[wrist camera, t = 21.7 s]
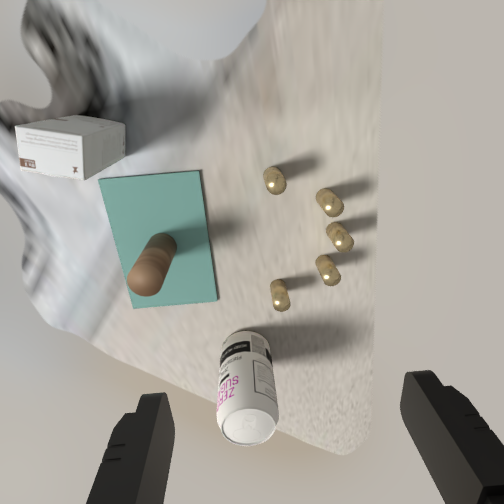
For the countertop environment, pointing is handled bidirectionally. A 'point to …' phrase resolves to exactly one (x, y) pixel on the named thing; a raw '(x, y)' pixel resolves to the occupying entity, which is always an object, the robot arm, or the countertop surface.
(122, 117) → the countertop surface
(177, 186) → the teal mat
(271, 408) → the supplement can
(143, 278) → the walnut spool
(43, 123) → the skincare box
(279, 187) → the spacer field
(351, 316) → the countertop surface
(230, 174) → the countertop surface
